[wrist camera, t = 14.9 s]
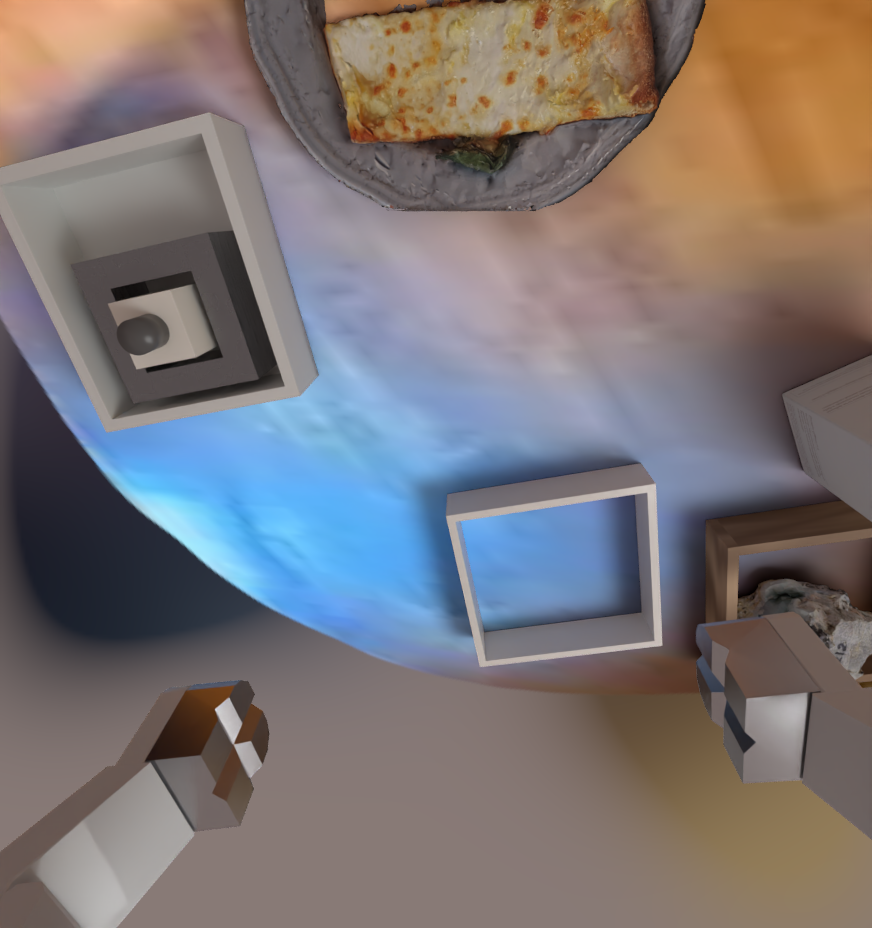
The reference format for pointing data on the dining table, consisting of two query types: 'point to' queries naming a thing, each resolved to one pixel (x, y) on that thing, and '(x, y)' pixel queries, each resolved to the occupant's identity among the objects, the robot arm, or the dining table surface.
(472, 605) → the open square frame
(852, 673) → the mineral specimen
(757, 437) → the dining table surface
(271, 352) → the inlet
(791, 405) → the supplement box
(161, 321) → the connector
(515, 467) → the dining table surface
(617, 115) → the food plate
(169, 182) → the walled box
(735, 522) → the stand rim
